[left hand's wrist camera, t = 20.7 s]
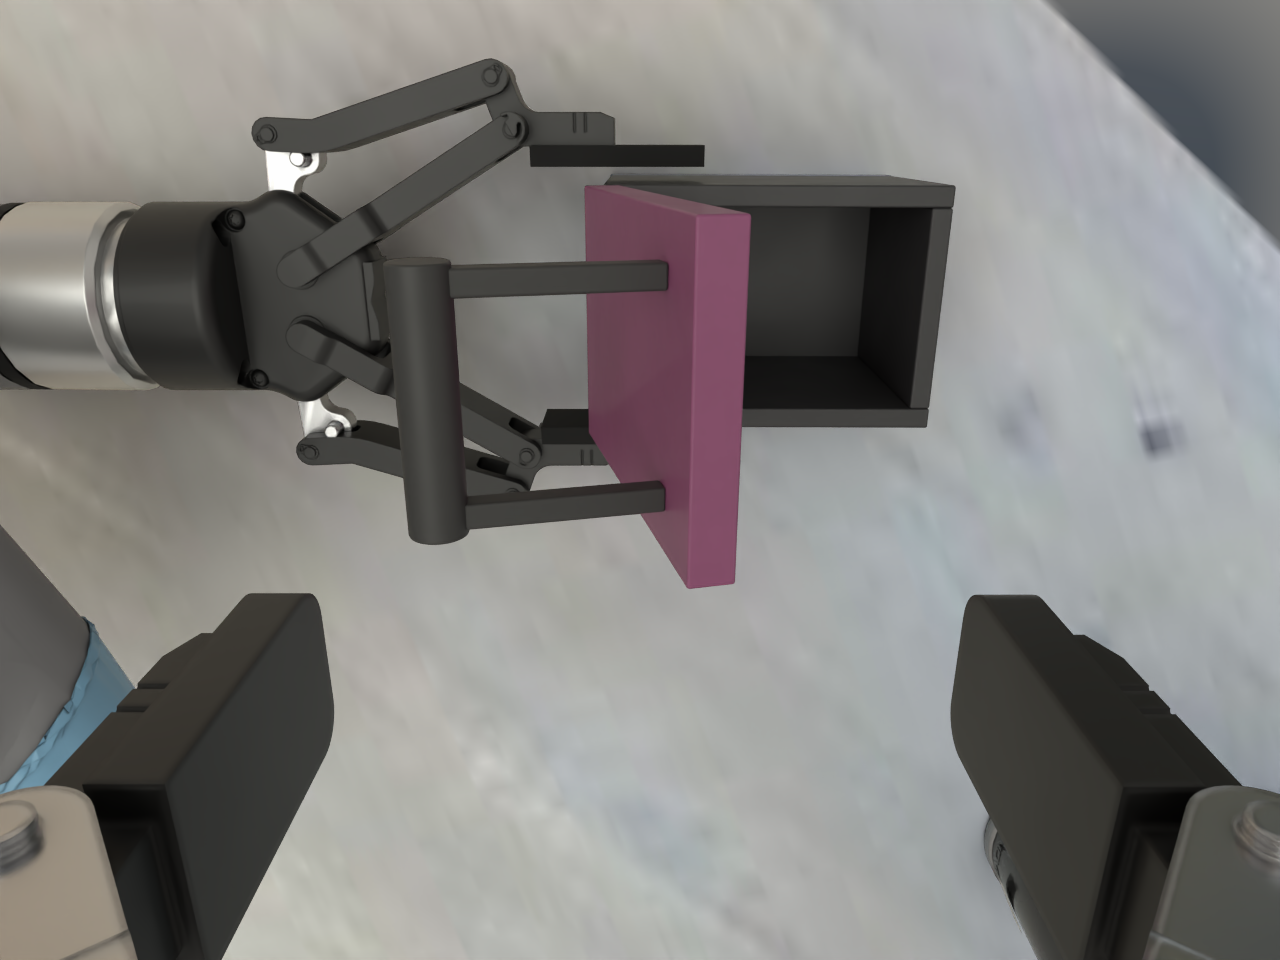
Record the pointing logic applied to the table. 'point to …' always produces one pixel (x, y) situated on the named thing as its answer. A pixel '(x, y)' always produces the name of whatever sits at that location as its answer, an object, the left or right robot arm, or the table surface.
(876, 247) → the chest
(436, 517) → the lid
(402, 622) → the table surface
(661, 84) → the table surface
